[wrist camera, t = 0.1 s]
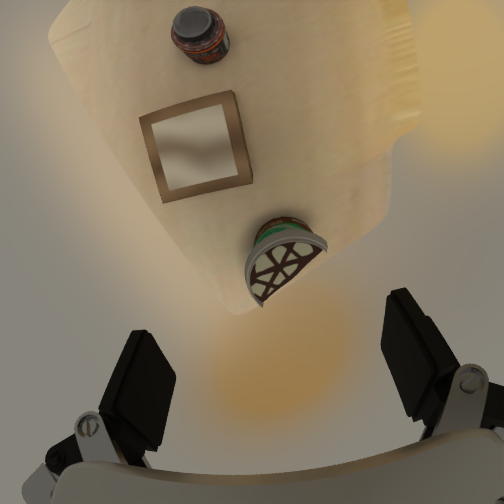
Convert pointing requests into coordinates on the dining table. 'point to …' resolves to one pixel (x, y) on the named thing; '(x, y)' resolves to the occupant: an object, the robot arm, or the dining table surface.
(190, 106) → the walnut base
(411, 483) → the robot arm
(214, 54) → the supplement bottle
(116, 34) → the dining table surface
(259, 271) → the food container
